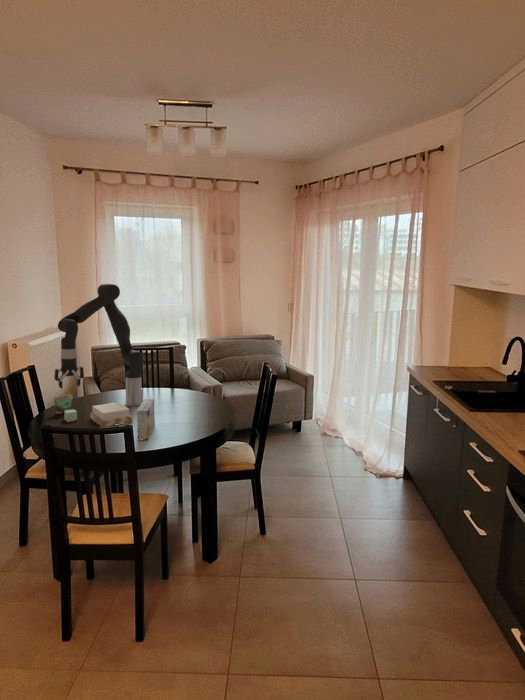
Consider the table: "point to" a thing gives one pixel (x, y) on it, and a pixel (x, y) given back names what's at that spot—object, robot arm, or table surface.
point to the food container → (63, 403)
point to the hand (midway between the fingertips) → (69, 387)
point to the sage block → (70, 415)
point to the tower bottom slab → (110, 422)
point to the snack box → (145, 419)
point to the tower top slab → (110, 411)
